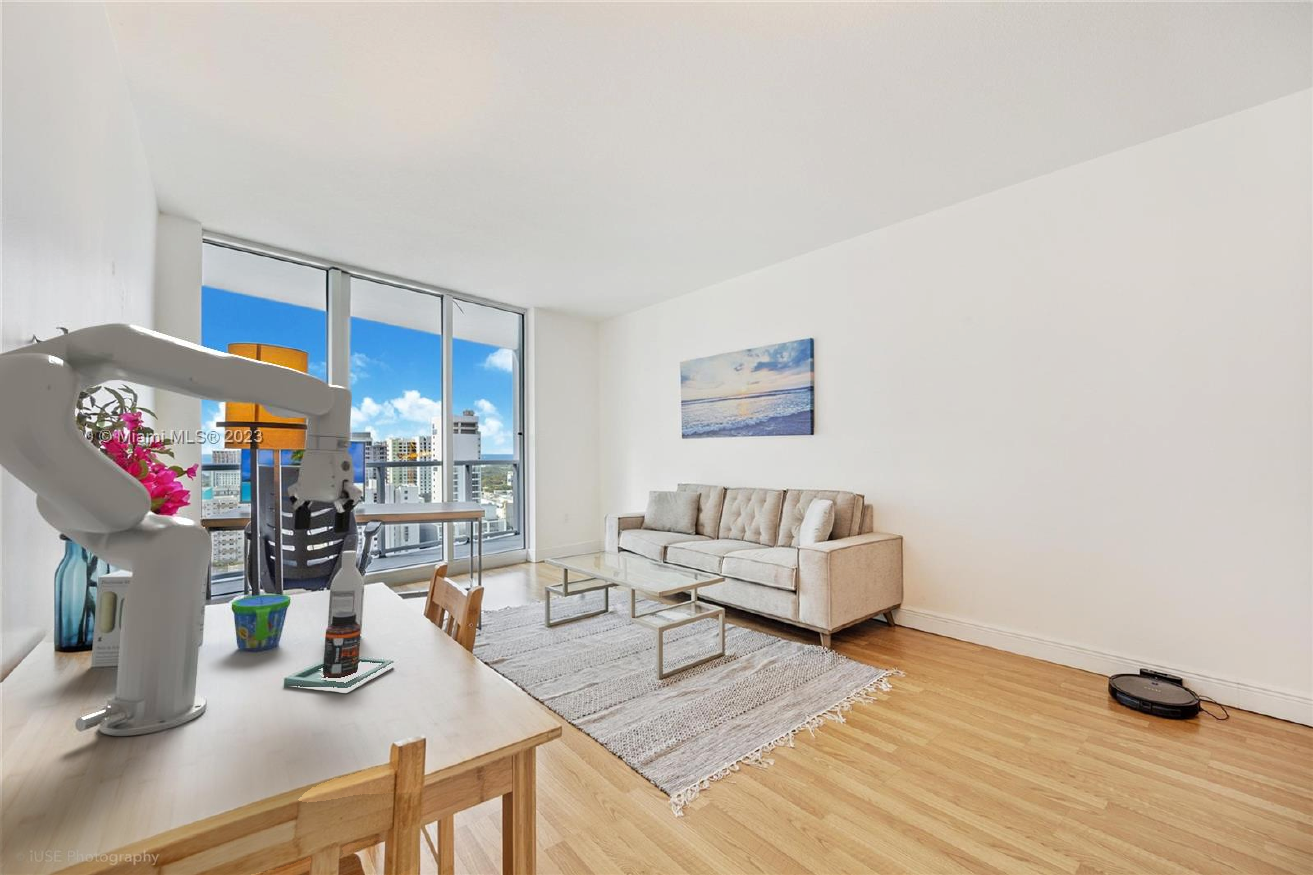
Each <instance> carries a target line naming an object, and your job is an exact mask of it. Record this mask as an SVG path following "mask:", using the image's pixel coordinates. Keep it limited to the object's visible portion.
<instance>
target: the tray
mask: <svg viewBox="0 0 1313 875" xmlns="http://www.w3.org/2000/svg"><path fill="white" fill-rule="evenodd" d="M360 661H361V662H370V663H371V662H372V663H382V664H381V665H379V666H378V667H376V668H374V669H372V670H370V671H368V672H366V673H364V674H362V675H360V676H358V677H356V678H354V679H352V680H350V681H348V682H346V683H344V682H336V681H327V680H321V679H318V678H326V677H325V676H324V677H322V676H321V675H320V674H318V673H323V671H321V670H319V669H321V668H323V663H324V660H322V661H320V662H318V663H316V664H313V665H310V666H308V667H306V668H303V669H302V670H301V669H300V670H299V671H297V672H294V673H293V674H291V675H290V674H289V675H287V676H286V677H284V678H283V687H285V686H297V687H298V686H300V687H333V688H334V687H337V688H348V687H351V686H352V685H354V684H356V683H357V682H360V681H361V680H363V679H364V678H367V677H368V676H370V675H371V674H373V673H376V672H377V671H378V670H380V669H382V668H385V667H386V666H387V665H389V664H391V663H393V662H394V663H395V660H391V659H379V658H371V657H363V656H362V657H361V656H359V662H360ZM317 674H318V675H317Z"/></svg>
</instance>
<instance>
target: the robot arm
mask: <svg viewBox="0 0 1313 875" xmlns="http://www.w3.org/2000/svg"><path fill="white" fill-rule="evenodd" d="M110 381H122V382H123V381H124V382H129V383H133V384H137V385H140V386H141V385H142V386H146V387H150V388H154V389H155V388H156V389H159V390H163V391H168V392H171V393H176V394H179V395H182V396H188V397H192V398H195V399H199V400H205V401H212V402H218V403H234V404H235V403H238V404H239V403H243V404H252V405H260V406H261V408H263V410H265V411H266V413H268V414H270V415H271V416H274V417H277V418H280V419H281V418H283V419H297V418H298V419H300V418H303V419H304V418H306V419H307V425H306V437H305V451H304V452H303V454H302V457H301V462H300V466H299V472H298V477H297V478H298V480H297V481H296V482H295V483H293V484H292V485H289V486H287V493H288V495H289V500H290V503H291V504H292V509H293V510H294V511H295V512H294V513H295V514H294V524H293V526H294V527H293V529H294V530H295V531H301V530H309V529H310V527H311V517H312V509H311V508H310V506H311V505H312V504H313V502H315V503H318V502H319V503H333V505H334V507H335V508H336V510H337V512H335V514H334V525H333V526H334V527H333V532H334V533H335V534H339V533H346V532H349V531H350V519H351V513H352V512H353V511H354V508H356V506H357V505H358V503H359V500H360V498H361V497H362V495H363V491H362V490H361V489H360V488H359V487H357V486H356V485H355V474H354V473H355V472H354V462H353V457H352V453H349V448H351V447H352V442H351V441H350V426H351V414H352V413H351V412H352V399H353V398H352V392H351V390H350V389H349V388H347V387H345V386H340V385H334V384H333V385H332V384H328V383H327V382H326V381H325V380H323V378H322V379H321V378H320V377H317V376H314V375H312V374H310V373H309V374H308V373H306V372H302V371H300V370H296V369H293V368H289V367H285V366H281V365H277V364H273V363H269V362H265V361H260V360H255V359H252V358H247V357H243V356H239V355H236V354H230V353H225V352H222V351H218V350H214V349H211V348H207V347H204V346H201V345H197V344H194V343H192V342H188V341H185V340H182V339H180V338H176V337H172V336H169V335H166V334H163V333H160V332H157V331H153V330H150V329H147V328H144V327H140V326H138V325H133V324H128V323H119V322H118V323H106V324H100V325H92V326H87V327H84V328H80V329H76V330H73V331H71V332H68V333H64V334H62V335H59V336H55V337H53V338H49V339H46V340H42V341H39V342H36V343H33V344H29V345H25V346H23V347H20V348H16V349H13V350H9V351H6V352H3V353H2V352H1V353H0V466H1V467H2V468H4V470H6V471H7V472H8V473H10V475H12V476H13V477H14V478H16V479H17V480H18V481H20V482H21V483H23V484H24V485H25V486H26V487H27V488H28V489H29V490H31V491H32V492H34V494H36V500H35V503H36V508H37V510H38V512H39V514H40V516H41V518H43V520H44V521H45V522H46V523H47V524H48V525H49V526H51V527H52V528H54V529H55V530H57V531H58V533H60V534H62V535H64V536H65V537H67V538H68V539H70V540H71V541H73V542H74V543H75V544H77V545H78V546H80V547H81V548H83V549H85V550H86V551H87V552H89V553H91V555H93V556H95V557H97V558H98V559H99V560H101V561H102V562H104V563H106V564H108V565H110V566H111V567H114V568H115V569H119V570H125V571H129V572H133V573H132V577H131V580H130V583H129V586H128V589H127V591H126V595H125V598H124V602H123V609H122V619H121V636H120V648H119V661H118V666H117V673H116V674H117V676H116V686H115V687H116V688H115V696H113V697H110V698H107V701H106V706H104V707H102V708H101V709H100V710H99V711H97V712H92V713H89V714H86V715H83V716H80V717H78V718H77V719H76V721H75V723H74V726H75V729H76V730H77V731H78V732H80V733H81V732H84V731H86V730H89V729H91V728H95V727H96V726H98V725H99V727H98V728H99V731H100V732H101V733H102V734H105V735H107V736H114V737H115V736H116V737H127V736H129V737H130V736H138V735H145V734H150V733H155V732H160V731H164V730H168V729H171V728H174V727H177V726H180V725H183V724H185V723H187V722H190V721H191V720H194V719H195V718H197V717H198V716H201V715H202V714H203V713H204V712H205V711H206V709H207V705H208V704H207V699H206V697H204V696H201V695H198V694H196V689H197V688H196V687H197V676H198V675H197V674H198V661H199V660H198V659H199V648H200V645H199V635H200V621H201V604H202V594H203V586H204V581H205V576H206V572H207V569H208V570H209V565H210V561H211V558H212V554H213V553H212V551H213V543H212V538H211V536H210V533H209V532H208V530H207V529H206V528H205V527H204V526H203V525H202V524H200V523H198V522H197V521H194V520H193V519H190V518H186V517H182V516H175V515H165V514H156V513H155V512H153V511H152V510H151V507H152V497H151V494H150V492H149V491H148V489H147V488H146V486H144V484H143V483H142V482H141V481H139V480H138V479H137V478H136V477H134V476H133V475H131V474H130V473H129V472H128V471H126V470H125V469H124V468H122V466H120V465H118V464H117V463H116V462H115V461H113V460H112V459H111V458H110V457H108V456H107V455H106V454H105V453H103V451H101V450H99V448H98V447H97V446H95V445H94V443H93V442H91V441H90V440H89V439H88V438H87V437H86V436H85V435H84V434H83V433H82V432H81V430H80V428H79V427H78V425H77V422H76V406H77V403H78V401H79V397H80V395H81V393H82V392H85V391H88V390H90V389H91V388H94V387H96V386H100V385H102V384H105V383H106V382H110Z"/></svg>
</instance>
